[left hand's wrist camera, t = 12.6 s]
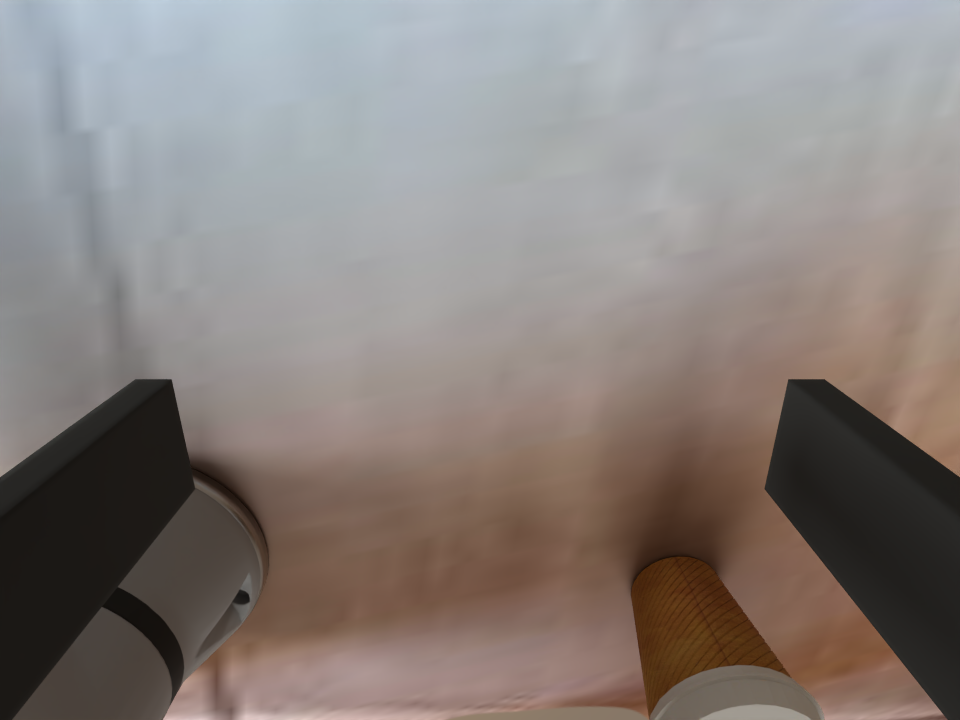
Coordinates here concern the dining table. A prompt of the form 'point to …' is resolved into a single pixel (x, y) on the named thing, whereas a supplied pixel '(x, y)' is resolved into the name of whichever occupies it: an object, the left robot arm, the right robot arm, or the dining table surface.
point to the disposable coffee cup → (707, 651)
